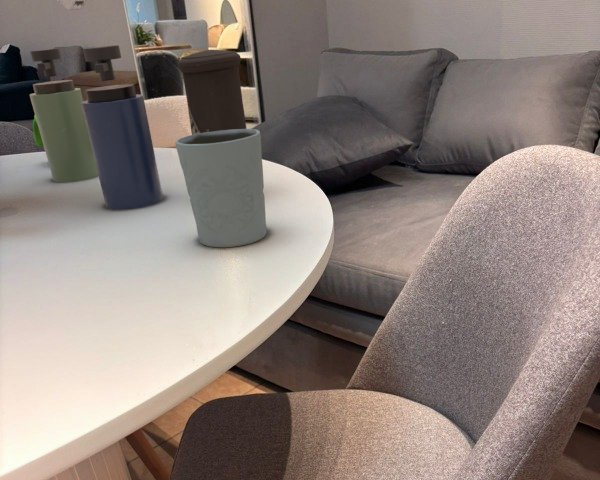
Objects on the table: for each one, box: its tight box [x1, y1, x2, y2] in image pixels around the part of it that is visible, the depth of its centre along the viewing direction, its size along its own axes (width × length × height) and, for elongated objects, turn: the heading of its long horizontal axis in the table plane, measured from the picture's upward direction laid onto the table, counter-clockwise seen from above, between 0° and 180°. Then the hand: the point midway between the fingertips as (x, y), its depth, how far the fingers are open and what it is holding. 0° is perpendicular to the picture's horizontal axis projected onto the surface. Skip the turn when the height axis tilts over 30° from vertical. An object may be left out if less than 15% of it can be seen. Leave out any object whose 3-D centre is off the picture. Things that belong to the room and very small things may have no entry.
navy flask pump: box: [82, 44, 122, 82], centre depth 90 cm, size 8×5×4 cm, turn 7°
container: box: [177, 49, 247, 135], centre depth 94 cm, size 9×9×20 cm
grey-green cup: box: [174, 128, 268, 248], centre depth 78 cm, size 10×10×12 cm
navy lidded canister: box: [81, 83, 164, 211], centre depth 97 cm, size 9×9×16 cm
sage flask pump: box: [29, 47, 62, 78], centre depth 112 cm, size 8×5×4 cm, turn 7°
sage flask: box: [29, 79, 99, 183], centre depth 119 cm, size 9×9×16 cm
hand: (78, 5), depth 88 cm, fingers closed
